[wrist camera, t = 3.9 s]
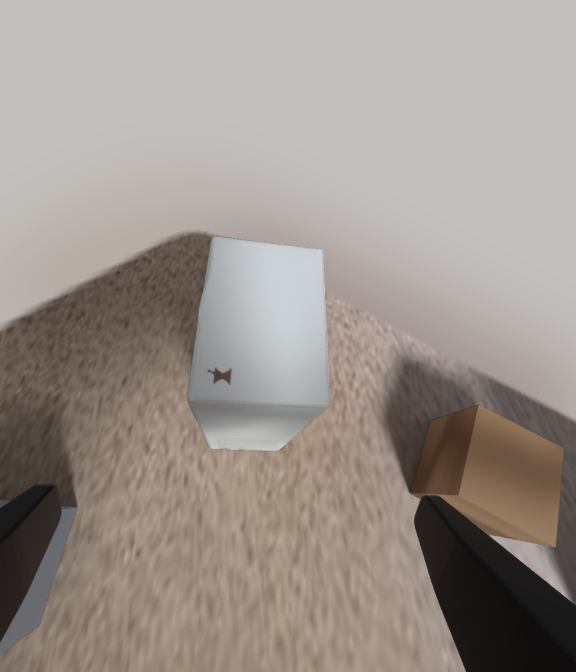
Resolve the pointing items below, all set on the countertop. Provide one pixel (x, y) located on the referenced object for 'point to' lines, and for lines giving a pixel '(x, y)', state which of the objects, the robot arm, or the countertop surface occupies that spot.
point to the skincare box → (259, 345)
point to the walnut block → (493, 474)
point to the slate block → (39, 583)
